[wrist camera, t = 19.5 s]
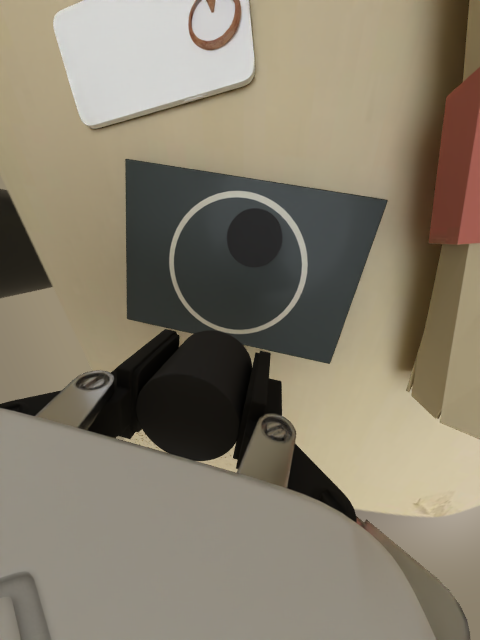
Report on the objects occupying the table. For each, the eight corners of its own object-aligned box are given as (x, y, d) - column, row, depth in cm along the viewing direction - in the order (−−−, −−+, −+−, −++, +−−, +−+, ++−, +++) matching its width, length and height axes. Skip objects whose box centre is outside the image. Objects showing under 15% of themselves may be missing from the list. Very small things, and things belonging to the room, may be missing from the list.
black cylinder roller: (176, 386, 13) (135, 446, 9) (181, 322, 12) (135, 361, 8) (245, 404, 13) (230, 472, 9) (258, 339, 11) (249, 389, 8)
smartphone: (49, 13, 18) (242, -69, 15) (58, 22, 18) (244, -55, 15) (82, 129, 20) (256, 78, 17) (89, 132, 20) (256, 84, 17)
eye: (232, 257, 21) (222, 262, 17) (239, 210, 20) (231, 203, 16) (276, 266, 21) (275, 272, 17) (286, 218, 19) (288, 213, 16)
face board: (132, 316, 26) (125, 319, 25) (132, 162, 21) (123, 157, 20) (327, 359, 24) (330, 365, 23) (382, 201, 19) (389, 199, 18)
